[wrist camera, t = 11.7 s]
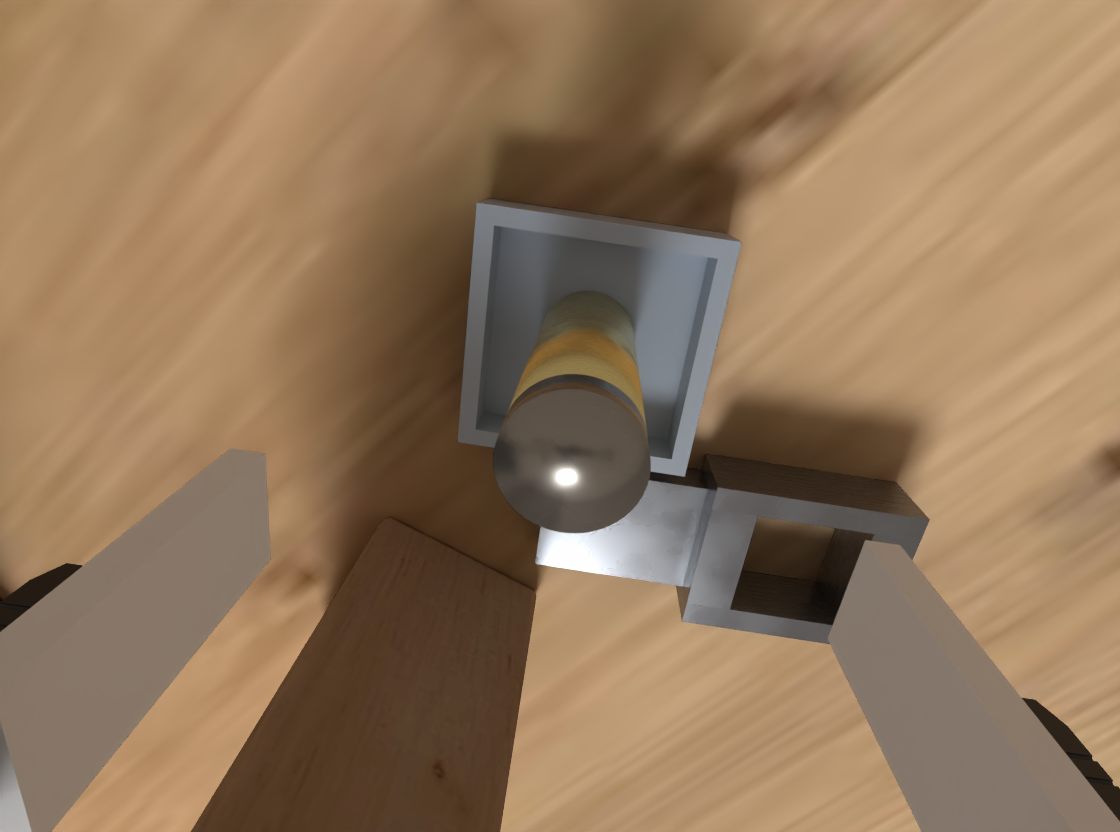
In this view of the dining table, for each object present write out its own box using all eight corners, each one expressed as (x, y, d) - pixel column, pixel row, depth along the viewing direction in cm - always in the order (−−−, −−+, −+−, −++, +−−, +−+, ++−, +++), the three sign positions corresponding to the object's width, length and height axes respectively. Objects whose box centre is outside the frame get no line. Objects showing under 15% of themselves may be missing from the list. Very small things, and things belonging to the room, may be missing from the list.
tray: (469, 418, 33) (457, 442, 30) (489, 198, 29) (476, 202, 26) (677, 449, 33) (684, 476, 30) (728, 233, 28) (741, 242, 26)
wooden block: (540, 589, 37) (476, 1025, 18) (465, 696, 40) (348, 1150, 22) (386, 511, 35) (149, 896, 17) (322, 629, 39) (70, 1052, 21)
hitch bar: (536, 557, 36) (529, 598, 33) (554, 430, 33) (549, 461, 29) (848, 604, 36) (873, 650, 32) (896, 482, 33) (929, 519, 29)
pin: (535, 372, 31) (485, 520, 18) (547, 283, 29) (501, 379, 17) (624, 386, 31) (634, 544, 18) (641, 298, 29) (665, 406, 17)
